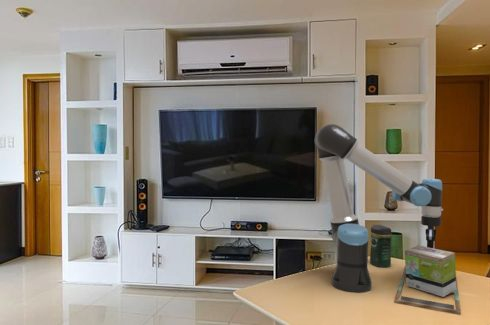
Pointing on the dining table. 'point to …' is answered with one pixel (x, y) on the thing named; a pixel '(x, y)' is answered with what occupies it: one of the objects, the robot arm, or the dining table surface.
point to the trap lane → (426, 303)
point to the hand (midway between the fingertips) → (429, 271)
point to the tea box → (430, 270)
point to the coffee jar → (380, 246)
